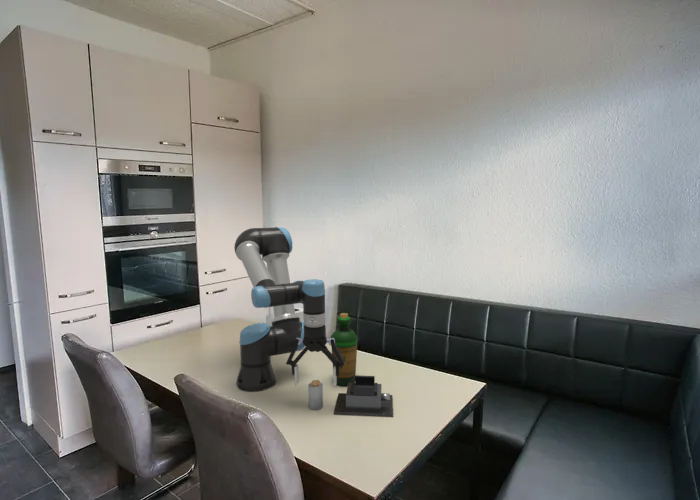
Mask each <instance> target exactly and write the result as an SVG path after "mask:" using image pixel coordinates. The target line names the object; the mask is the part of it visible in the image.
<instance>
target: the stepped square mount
mask: <svg viewBox="0 0 700 500" xmlns="http://www.w3.org/2000/svg"><path fill="white" fill-rule="evenodd" d="M393 400H394V399H393V394H391V393H385V392H383V393H382V383H378V382H376V381H375V375H359V374H358V375H355V382H352V383H348V386H347V390H346V393H345V392H343V393H342V392H339V393H337V397H336V401H335V405H334V409H333V415H334V416H357V417H358V416H361V417H386V418H393V417H394V407H393V406H394V405H393V404H394V403H393Z"/></svg>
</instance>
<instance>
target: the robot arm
mask: <svg viewBox="0 0 700 500" xmlns="http://www.w3.org/2000/svg"><path fill="white" fill-rule="evenodd" d="M292 251H293V239H292V235H291V234H290V231H289V230H288V229H287V228H285V227H279V226H275V227H258V228H257V227H250V228H247V229H246V230H244V231H242V232H241V233H240V234H239V235H238V236H237V237H236V240H235V243H234V253H235V255H236V258H237V259H239V260H240V261H241V262H242V264H243V266H244V269H245V271H246V273H247V276H248V278H249V280H250V283H251V284H252V289H251V291H250V292H251V293H250V296H251V298H250V299H251V303H252V305H253V307H254V308H256V309H262V308H265V309H266V308H267V309H268V308H273V316H274V318H273V319H272V321H271V325H270V324H269V323H266V322H262V323H261V322H257V323H252V324H250V325H247V326H245V327H243V328H242V330H241V331H240V333H239V342H238V343H239V346H240V347H239V352H240V353H239V354H240V368H239V371H238V375H237V378H236V387H237V389H239V390H241V391H244V392H260V391H265V390H268V389H270V388H272V387H273V386H274V385H275V384H276V383H277V381H276V379H277V378H276V374H275V371H274V368H273V366H272V359H271V357H272V356H278V355H286V354H289V355H288V358H287V360H286V362H285V363H286V365H287V366H289V365H290V366H291V376H294V385H295V386H298V385H299V383H300V382H299V380H300V379H299V376H300V375H299V363H298V362H299V361H300V360H301V359H302V358H303V357H304V355H305V354H306V353H307V352H308V351H309V352H311V353H313V352H317V353H319V352H321V353H322V354H324V355H325V356H326V357H327V359H328V360H329V361H330V362H331V363H332V365H333V364H334V368H333V367H332V371H333V373H332V374H334V376H333V387H336V386H337V385H338V384H337V376H339V374H340V366H343V365H344V363H345V361H344V359H343V357H342V355H341V353H340V351H339V349H338V347H337V345H336V343H335V338H334V337H333V338H332V339H331V338H327V334H326V332H327V331H326V330H327V329H326V325H325V324H326V288H325V281H323V279H317V278H316V279H315V278H313V279H311V278H310V279H306V280H294V282H291V280H290V273H289V268H288V258H289V257H290V254H291V253H292ZM265 263H266V264H265ZM296 304H302V308H303V317H304V319H303V322H300V318H299V317H298V316H297V315H296V314H295V310H294V308H295V305H296ZM327 344H328V345H329V346H330V347H331V350H332V349H333V351H334V353H335V355H336V357H337V359H338V360H339V361H338V360H337V359H336V358H335V357H334V356H333V354H332V351H330V350H329V348H328V347H327V346H326V345H327ZM300 351H301V352H300ZM296 352H300V353H298V355H297V356H296V358H295V359H294V360H293V358H294V356H295V354H296Z"/></svg>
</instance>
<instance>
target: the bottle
mask: <svg viewBox="0 0 700 500" xmlns="http://www.w3.org/2000/svg"><path fill="white" fill-rule="evenodd" d="M336 323H337V324H338V329H335V331H333V332H332V334H331V335H330V339H332V338H333V337H334V338H335V343H336V345H337V347H338V349H339V351H340V353H341V355H342V357H343V359H344V361H345V363H344V365H343V366H340V374H339V376H337V384H336V385H338V386H343V387H348V383H352V382H355V375H356V374H357V373H356V372H357V356H358V355H357V354H358V338H359V337H358V335H357V334H356V332H355V331H354V330H353V329H351V328H350V325H351V323H352V321H351V317H350V316H349V313H348V312H347V313H346V312H342V313H339V316H338V317H337V322H336ZM331 353H332V354H333V356H334V357H335V358H336V359H337V357H336V355H335V353H334V351H333V349H332V348H331ZM337 360H338V359H337ZM338 361H339V360H338ZM333 368H334V364H333V363H332V369H333ZM332 374H333V373H332ZM333 377H334V374H333Z"/></svg>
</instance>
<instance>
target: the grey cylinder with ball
mask: <svg viewBox="0 0 700 500" xmlns="http://www.w3.org/2000/svg"><path fill="white" fill-rule="evenodd" d="M307 385H308V387H307V388H308V409H310V410H311V411H320V410H322V409H323V407H324V394H323V393H324V389H323V387H324V386H323V383H322V382H320V380H318V379H313V380H311V382H309V383H308V384H307Z"/></svg>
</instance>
